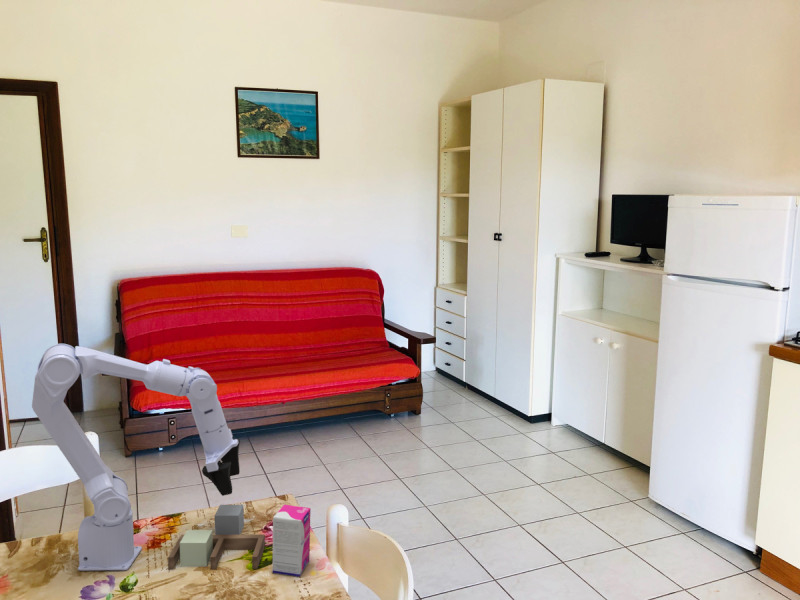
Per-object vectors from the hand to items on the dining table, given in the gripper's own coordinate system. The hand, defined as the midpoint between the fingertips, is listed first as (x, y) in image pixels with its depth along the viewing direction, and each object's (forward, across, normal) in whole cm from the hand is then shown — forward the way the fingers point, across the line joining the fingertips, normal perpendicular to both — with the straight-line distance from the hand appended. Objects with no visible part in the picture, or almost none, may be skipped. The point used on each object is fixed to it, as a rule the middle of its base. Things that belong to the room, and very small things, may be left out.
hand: (231, 484), depth 135 cm
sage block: (+9, -10, +7) cm, 16 cm away
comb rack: (+10, -10, +3) cm, 15 cm away
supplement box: (+13, -14, -11) cm, 22 cm away
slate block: (+11, 0, +4) cm, 12 cm away
